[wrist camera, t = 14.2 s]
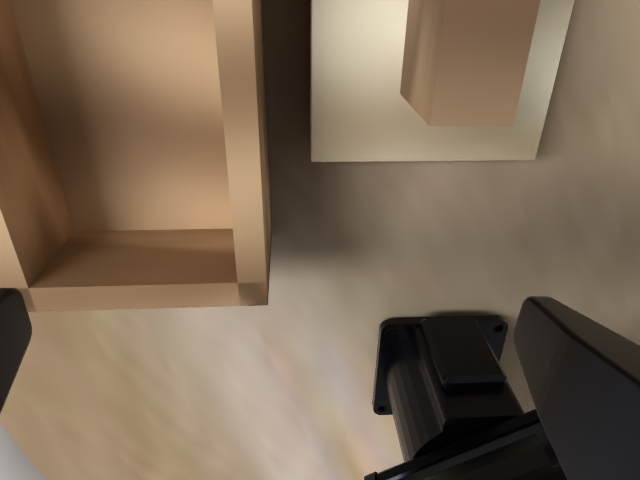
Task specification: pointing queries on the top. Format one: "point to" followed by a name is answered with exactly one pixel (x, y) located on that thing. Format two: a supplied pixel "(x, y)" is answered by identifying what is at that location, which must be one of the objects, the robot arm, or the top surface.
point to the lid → (432, 78)
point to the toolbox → (133, 154)
